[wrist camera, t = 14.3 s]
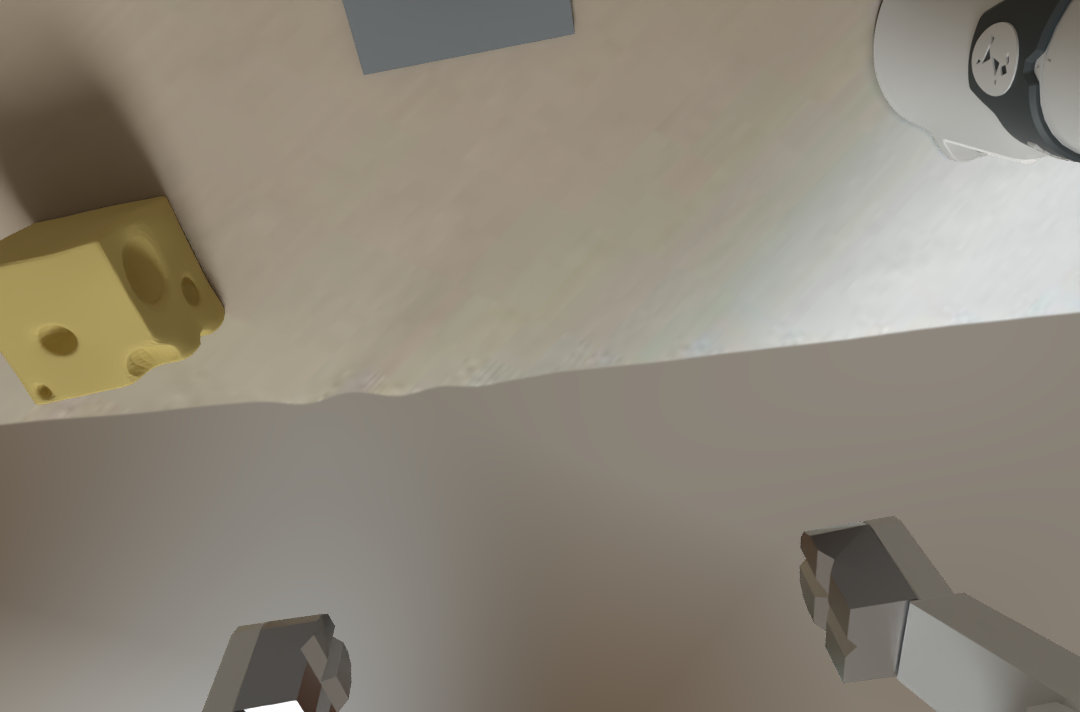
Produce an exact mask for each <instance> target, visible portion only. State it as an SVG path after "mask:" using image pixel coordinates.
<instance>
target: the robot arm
mask: <svg viewBox="0 0 1080 712" xmlns="http://www.w3.org/2000/svg"><path fill="white" fill-rule="evenodd" d="M874 66H875V71H876V76H877V80H878V83H879V86H880V88H881V90H882V93H883V94H884V96H885V98H886V100H887V101H888V103H889V104H890V105H891V107H892V108H893V109H894V110H895V111H896V112H897V113H898V114H899V115H900V116H902V117H903V118H904V119H906V120H907V121H909V122H910V123H912V124H914V125H916V126H918V127H920V128H922V129H924V130H926V131H927V132H928V133H930V134H931V135H932V137H933V138H934V140H935V142H936V143H937V145H938V147H939V148H940V150H941V151H942V153H943V154H944V155H945V156H946V157H947V158H948V159H950V160H954V161H958V162H968V161H972V160H974V159H977V158H980V157H983V156H985V155H988V154H990V155H994V156H997V157H1001V158H1004V159H1008V160H1012V161H1016V162H1019V163H1034V162H1036V160H1037V159H1038V158H1041V157H1045V156H1048V155H1049V156H1052V157H1055V158H1058V159H1063V160H1066V161H1069V160H1070V161H1073V162H1080V0H883V3H882V5H881V8H880V12H879V15H878V19H877V23H876V29H875V36H874ZM800 544H801V545H800V548H801V550H802V552H803V554H804V556H805V558H806V560H805V561H804V562H803V563H802V564H801V565H800V585H801V589H802V595H803V598H804V601H805V604H806V606H807V609H808V612H809V614H810V616H811V618H812V620H813V622H814V623H815V624H816V625H818V626H819V627H821V628H822V629H824V630H825V631H826V638H825V647H826V649H827V651H828V654H829V656H830V658H831V660H832V662H833V664H834V666H835V668H836V670H837V672H838V674H839V676H840V678H841V680H842V682H843V683H849V682H857V681H864V680H872V679H879V678H887V677H894V676H897V679H898V680H899V681H900V682H901V683H903V684H904V685H905V686H906V687H907V688H909V689H910V690H911V691H912V692H914V693H915V694H916V695H917V696H919V697H920V698H921V699H922V700H924V701H925V702H926V703H927V704H928V705H930V706H931V707H932V708H933V709H935V710H936V711H937V712H1080V657H1079V656H1078V655H1076V654H1074V653H1072V652H1070V651H1068V650H1067V649H1065V648H1063V647H1061V646H1059V645H1057V644H1056V643H1054V642H1052V641H1050V640H1049V639H1047V638H1045V637H1043V636H1041V635H1039V634H1038V633H1036V632H1034V631H1032V630H1031V629H1029V628H1027V627H1025V626H1023V625H1021V624H1019V623H1018V622H1016V621H1014V620H1012V619H1011V618H1009V617H1007V616H1005V615H1003V614H1002V613H1000V612H998V611H996V610H994V609H992V608H991V607H989V606H987V605H985V604H984V603H982V602H980V601H978V600H976V599H974V598H973V597H971V596H969V595H967V594H965V593H958V594H954V593H953V591H952V590H951V588H950V587H949V586H948V584H947V583H946V582H945V580H944V579H943V577H942V576H941V575H940V573H939V572H938V571H937V569H936V568H935V567H934V565H933V564H932V562H931V561H930V560H929V558H928V557H927V556H926V554H925V553H924V551H923V550H922V549H921V547H920V546H919V545H918V544H917V542H916V540H915V539H914V538H913V536H912V535H911V534H910V532H909V531H908V530H907V528H906V527H905V526H904V524H903V523H902V521H901V520H900V519H898V518H897V517H895V516H891V517H885V518H879V519H873V520H867V521H863V522H861V521H859V522H854V523H848V524H842V525H837V526H832V527H826V528H821V529H815V530H810V531H804V532H803V534H802V536H801V543H800ZM334 629H335V625H334V623H333V622H332V620H331V618H330V616H329V615H328V614H319V615H312V616H305V617H298V618H291V619H284V620H277V621H270V622H264V623H258V624H252V625H245V626H239V627H238V628H237V629H236V630H235V632H234V633H233V634H232V635H231V638H230V640H229V643H228V645H227V648H226V650H225V653H224V656H223V658H222V661H221V664H220V666H219V669H218V671H217V674H216V677H215V679H214V682H213V685H212V687H211V690H210V692H209V695H208V698H207V700H206V703H205V705H204V708H203V711H202V712H339V710H340V709H341V708H342V707H343V705H344V704H345V703H346V702H347V700H348V699H349V694H350V688H351V662H350V658H349V654H348V651H347V649H346V647H345V645H344V643H343V642H341V641H340V640H338V639H336V638H334V637H333V633H334Z"/></svg>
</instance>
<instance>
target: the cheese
mask: <svg viewBox="0 0 1080 712" xmlns="http://www.w3.org/2000/svg"><path fill="white" fill-rule="evenodd" d="M224 315H225V311H224V308H223V306H222V304H221V302H220V300H219V299H218V297H217V295H216V294H215V292H214V291H213V289H212V288H211V286H210V284H209V283H208V281H207V279H206V277H205V275H204V273H203V271H202V269H201V267H200V265H199V263H198V261H197V259H196V257H195V255H194V253H193V251H192V249H191V247H190V245H189V243H188V241H187V239H186V237H185V235H184V233H183V231H182V229H181V227H180V224H179V222H178V220H177V218H176V216H175V214H174V211H173V209H172V207H171V205H170V203H169V201H168V199H167V198H166V197H165V196H160V197H155V198H150V199H144V200H139V201H134V202H128V203H123V204H118V205H113V206H108V207H104V208H99V209H95V210H91V211H86V212H82V213H78V214H74V215H70V216H66V217H61V218H56V219H51V220H46V221H42V222H37V223H34V224H32V225H30V226H28V227H26V228H24V229H22V230H20V231H18V232H16V233H14V234H12V235H10V236H8V237H6V238H4V239H3V240H1V241H0V352H1V353H2V355H3V356H4V357H5V359H6V360H7V362H8V363H9V364H10V366H11V367H12V369H13V370H14V372H15V373H16V375H17V376H18V378H19V379H20V381H21V382H22V384H23V385H24V387H25V389H26V390H27V392H28V393H29V395H30V396H31V398H32V399H33V401H34V402H35V404H37V405H41V404H46V403H51V402H56V401H60V400H65V399H70V398H76V397H80V396H84V395H89V394H93V393H97V392H102V391H106V390H111V389H116V388H120V387H125V386H128V385H131V384H133V383H135V382H136V381H137V380H138V379H140V378H141V377H142V376H143V375H144V374H145V373H147V372H148V371H149V370H151V369H153V368H155V367H157V366H159V365H162V364H165V363H170V362H176V361H181V360H183V359H186V358H188V357H190V356H191V355H192V354H193V353H194V352H195V351H196V350H197V349H198V347H199V346H200V344H201V343H200V337H201V336H204V335H209V334H211V333H213V332H214V331H216V330H217V329H218V328H219V327H220V325H221V324H222V322H223V320H224Z"/></svg>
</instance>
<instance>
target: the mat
mask: <svg viewBox="0 0 1080 712" xmlns="http://www.w3.org/2000/svg"><path fill="white" fill-rule="evenodd" d="M343 4H344V7H345V11H346V14H347V18H348V21H349V25H350V28H351V32H352V35H353V39H354V42H355V46H356V49H357V53H358V56H359V60H360V63H361V67H362V70H363V74H364V75H366V74H372V73H377V72H382V71H387V70H392V69H397V68H402V67H407V66H413V65H418V64H423V63H428V62H433V61H438V60H443V59H448V58H454V57H459V56H464V55H469V54H474V53H479V52H484V51H489V50H495V49H500V48H505V47H510V46H515V45H520V44H525V43H531V42H536V41H541V40H546V39H551V38H556V37H561V36H566V35H572V34H575V33H574V26H573V18H572V11H571V3H570V0H343Z"/></svg>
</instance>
